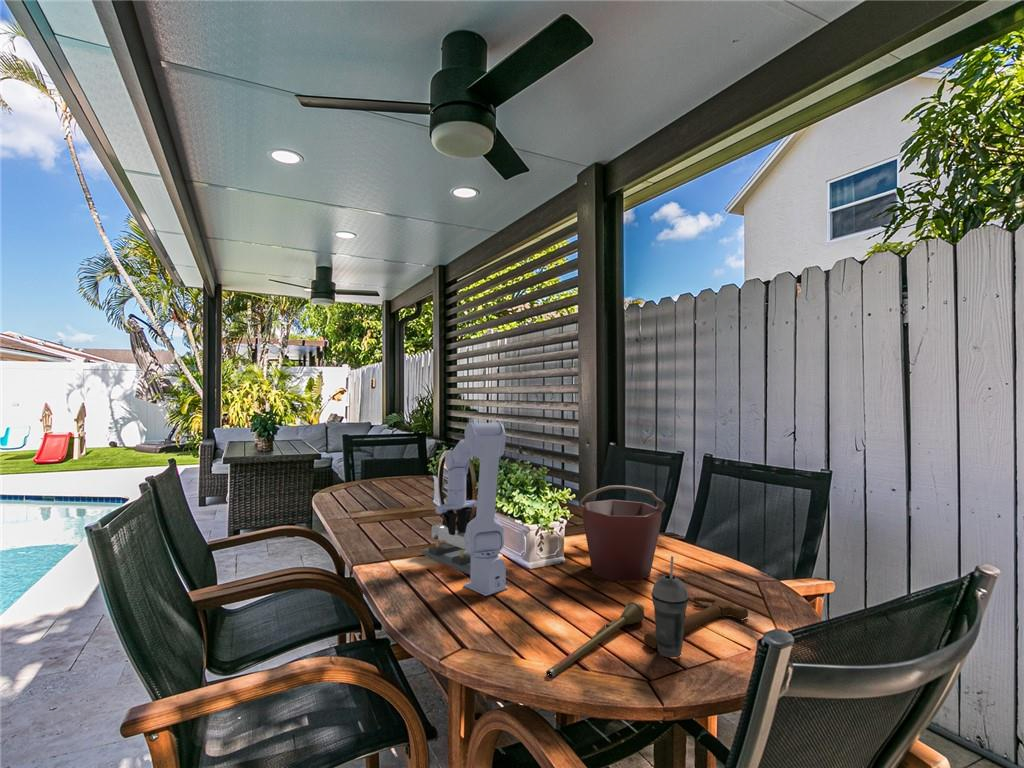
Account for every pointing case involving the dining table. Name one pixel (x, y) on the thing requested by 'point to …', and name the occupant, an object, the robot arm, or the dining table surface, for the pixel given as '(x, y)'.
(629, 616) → the panzerfaust rocket launcher
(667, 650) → the beverage cup
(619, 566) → the bucket
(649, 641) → the hammer
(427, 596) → the dining table surface
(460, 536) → the grey bar
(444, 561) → the peg rack
